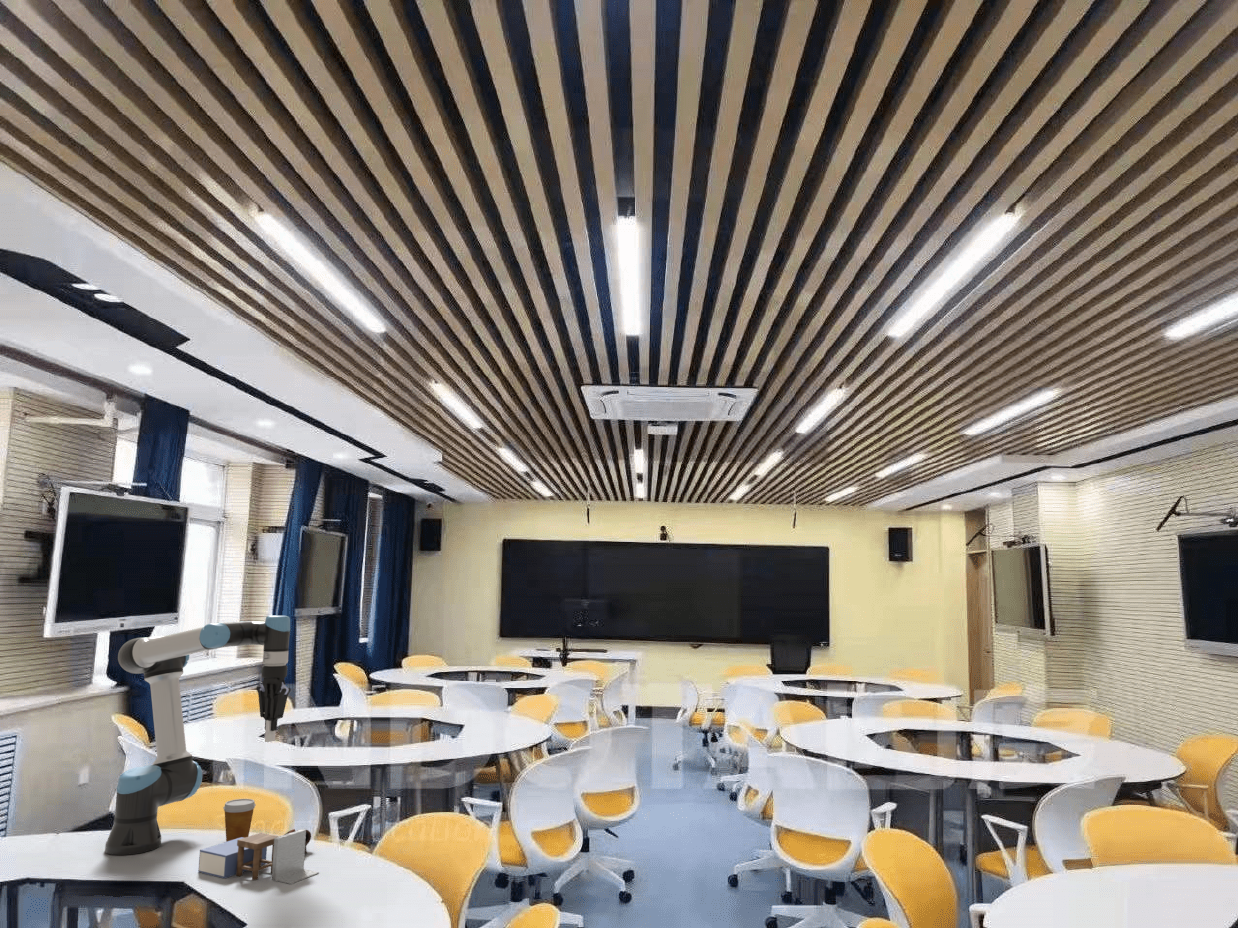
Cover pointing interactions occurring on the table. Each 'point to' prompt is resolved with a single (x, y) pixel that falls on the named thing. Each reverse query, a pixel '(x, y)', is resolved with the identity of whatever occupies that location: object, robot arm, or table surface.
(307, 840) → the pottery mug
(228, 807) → the disposable coffee cup
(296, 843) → the bookend
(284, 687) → the robot arm
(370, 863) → the table surface
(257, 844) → the stool
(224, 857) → the book
